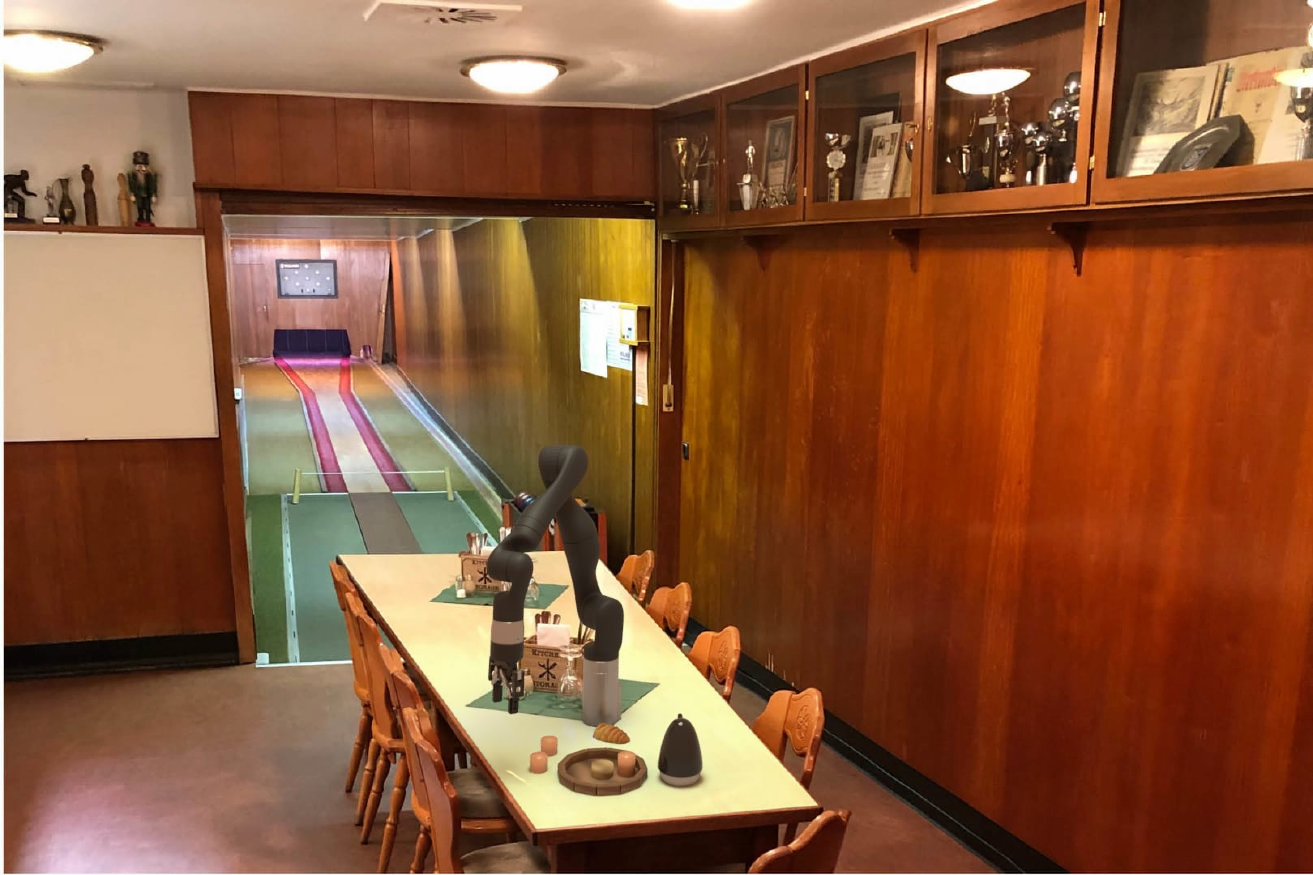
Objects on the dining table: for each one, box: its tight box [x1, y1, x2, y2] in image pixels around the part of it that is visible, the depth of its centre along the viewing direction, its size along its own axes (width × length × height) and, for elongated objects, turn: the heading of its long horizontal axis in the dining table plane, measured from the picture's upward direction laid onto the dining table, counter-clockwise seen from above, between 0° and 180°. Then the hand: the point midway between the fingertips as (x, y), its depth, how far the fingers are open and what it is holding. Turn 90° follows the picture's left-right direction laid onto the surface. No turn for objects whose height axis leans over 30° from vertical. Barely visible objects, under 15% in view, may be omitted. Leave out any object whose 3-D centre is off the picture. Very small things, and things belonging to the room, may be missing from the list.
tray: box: [557, 746, 649, 797], centre depth 236 cm, size 20×20×4 cm
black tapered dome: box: [657, 712, 704, 787], centre depth 234 cm, size 10×10×15 cm
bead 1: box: [529, 751, 549, 775], centre depth 238 cm, size 4×4×4 cm
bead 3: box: [618, 750, 636, 777], centre depth 237 cm, size 4×4×4 cm
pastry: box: [592, 723, 631, 745], centre depth 256 cm, size 9×7×4 cm
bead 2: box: [540, 735, 559, 757], centre depth 247 cm, size 4×4×4 cm
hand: (504, 707), depth 236 cm, fingers open, 8 cm apart
